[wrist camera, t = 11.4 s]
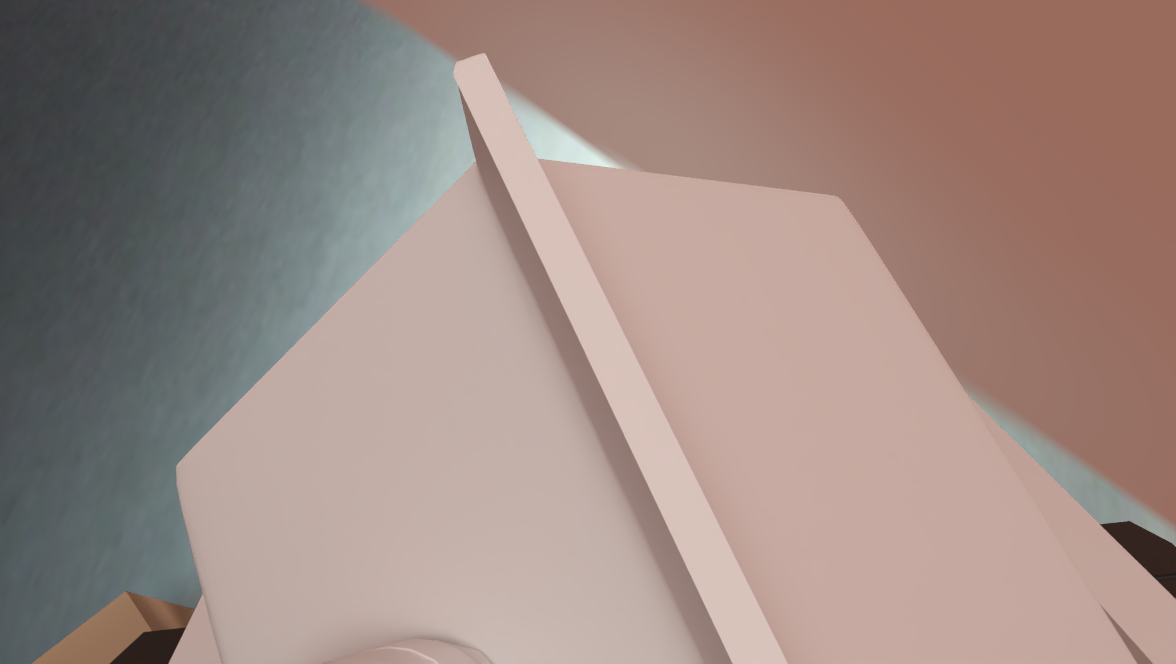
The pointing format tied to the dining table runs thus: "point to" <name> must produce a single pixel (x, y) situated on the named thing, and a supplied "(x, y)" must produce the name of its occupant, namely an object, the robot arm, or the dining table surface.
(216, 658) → the robot arm
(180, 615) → the frame
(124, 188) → the dining table surface
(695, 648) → the milk carton
